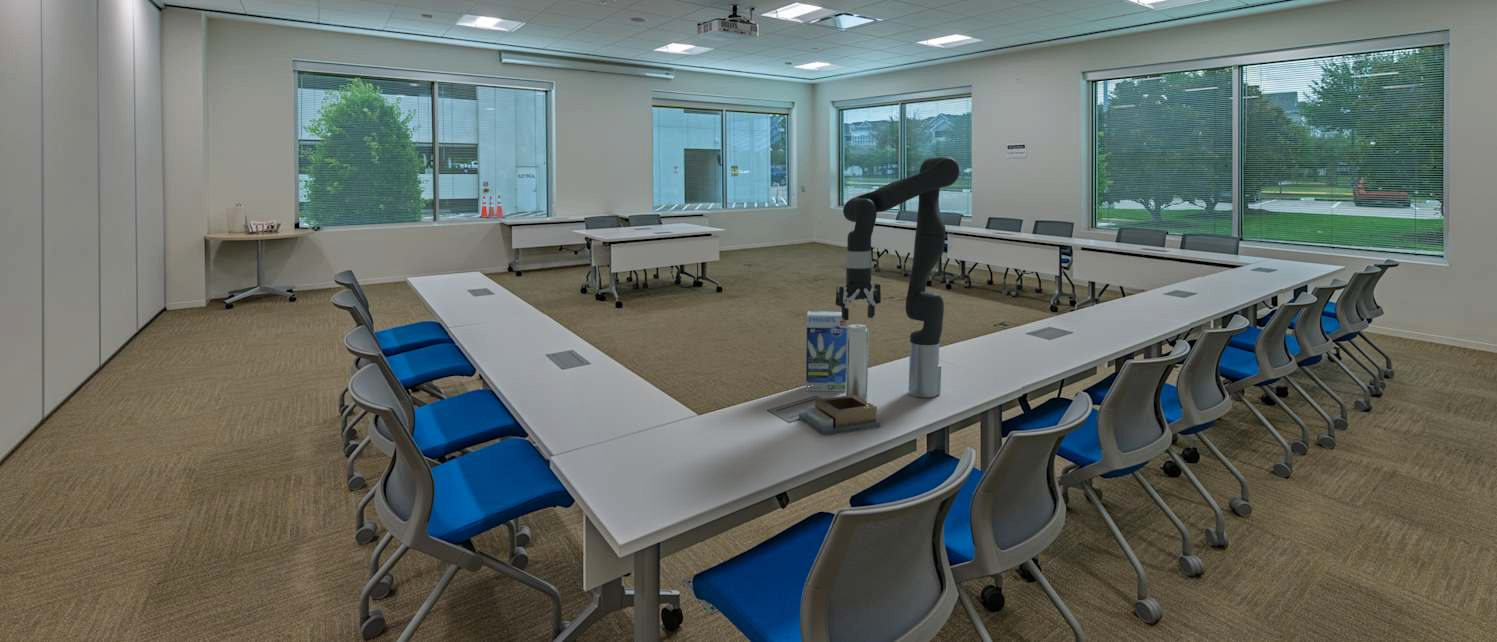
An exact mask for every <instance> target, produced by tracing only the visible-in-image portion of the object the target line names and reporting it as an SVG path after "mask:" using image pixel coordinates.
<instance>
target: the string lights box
mask: <svg viewBox="0 0 1497 642" xmlns="http://www.w3.org/2000/svg"><path fill="white" fill-rule="evenodd" d="M806 312H807V313H806V349H805V350H806V352H805V353H806V361H805V362H806V363H805V364H806V365H805V366H806V369H805V371H806V374H805V375H806V376H805V377H806V378H805V381H806V384H805V385H806V387H807V388H805V389H808V390H806V392H828V391H830V392H832V393H833V392H835V393H836V392H837V393H838V392H839V393H846V369H847V328H848V320H843V318H842V311H827V310H826V311H824V310H823V311H809V310H808V311H806ZM812 385H813V386H812ZM808 386H810V387H808ZM830 392H829V393H830Z"/></svg>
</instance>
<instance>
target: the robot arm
mask: <svg viewBox="0 0 1497 642" xmlns="http://www.w3.org/2000/svg"><path fill="white" fill-rule="evenodd" d="M959 175H960V166H959V164H958V162H957V161H956V159H954V158H953V157H949V156H948V157H947V156H940V157H939V156H938V157H929V158H927V159H925V160H923V162H922V164H921V165H920V168H919V171H918V173H917V174H915V175H911V176H908V177H905V178H902V179H899V180H895V181H892V182H890V183H888V184H886V185H883V186H881V187H879V188H876V189H875V190H873V191H871V192H867V193H863V194H860V195H857V196H854V197H853V198H850V199H849V200H848V201H846V203H845V204H844V206H843V210H842V213H843V216H844V218H845V219H846V220H848V221H849V222H853V223H855V224H854V227H853V228H854V229H853V230H850V231H849V233H848V234H847V244H846V245H847V251H846V257H845V258H846V260H845V261H846V262H845V263H846V264H845V269H846V270H845V271H846V272H845V280H846V281H845V282H846V284H845V286H842V285H837V286H836V291H835V293H836V294H835V306H838V307H840V308H841V312H842V318H843V320H847V321H849V315H850V314H849V309H850V308H849V306H850V305H851V303H853V301H854V300H855V301H857V300H865V301H866V302H867V318H869V319H874V316H875V314H876V313H875V310H876V309H875V308H876V306H877V304H881V303H882V297H881V296H882V294H881V293H882V292H881V284H879V283H876V282H875V283H873V284H872V282H871V281H872V263H873V262H872V235H873V232H874V228H875V224H876V220H877V213H883V212H887V211H889V210H891V209H893V208H895V207H897V206H899V205H900V204H901V205H902V204H903V203H905V202H907V201H909V200H911V199H913V198H915V197H918V207H917V218H916V219H917V221H916V230H915V236H914V237H915V238H914V247H913V257H912V265H911V267H912V268H911V271H910V272H911V273H910V279H909V283H908V289H907V294H906V299H905V313H906V316H907V317H908V319H910V320H913V321H914V320H915V321H920V322H923V326H922V329H920V330H914V331H912V332H911V333H910V336H909V363H908V365H909V366H908V367H909V369H908V394H909V395H910V396H912V397H917V398H924V399H926V398H934V397H937V396H939V395H941V390H942V389H941V385H942V365H940V342H941V336H942V331H943V321H944V313H945V311H944V310H945V305H944V300H943V297H942V296H941V295H940V293H939V294H938V293H934V292H926V286H927V281H928V278H929V276H930V274H931V272H932V270H933V269H934V267H935V266H936V265H937V263H938V262H939V260H940V259H941V258H942V256H943V254H944V251H945V244H946V235H947V232H946V230H947V229H946V225H945V221H944V219H943V216H942V213H941V209H940V205H939V200H940V199H939V198H940V191H941V188H947V187H950V186H952V185H953V184H955V182H957V180H958V179H959ZM871 290H872V295H871V293H870V292H871ZM845 293H846V295H845V296H844V294H845Z"/></svg>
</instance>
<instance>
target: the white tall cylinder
mask: <svg viewBox="0 0 1497 642" xmlns="http://www.w3.org/2000/svg"><path fill="white" fill-rule="evenodd" d="M868 363H869V329H868V328H867V325H864V324H858V323H857V324H848V325H847V361H846V392H845V396H848V395H856V396H858V397H859V398H861V399H863V400H865V401H867V402H868V377H869V374H868V371H869V364H868Z"/></svg>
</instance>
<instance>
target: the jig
mask: <svg viewBox="0 0 1497 642" xmlns="http://www.w3.org/2000/svg"><path fill="white" fill-rule="evenodd" d="M877 410H878V409H877V406H876V405H874V404H872V403H870V402H868V400H867V401H865V400H863V399H861V398H859V397H858V396H856V395H848V396H846V395H841V396H835V397H834V396H833V397H826V398H819V399H818V398H817V399H815V400H814V406H812V407H805V408H804V412H799V414H798V419H800V420H801V421H802V422H804V423H805V424H807V425H808V426H809V427H811V428H812V429H813V430H815V431H816V432H818V433H819V434H821V435H822V436H828V435H835V434H836V435H837V434H843V433H849V431H850V432H855V430H856V431H861V430H862V429H863V430H868V429H867V428H870V429H874V428H873V427H876V428H881V427H882V425H881V421H880V420H878V419H877ZM880 426H881V427H880ZM863 430H862V431H863Z"/></svg>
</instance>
